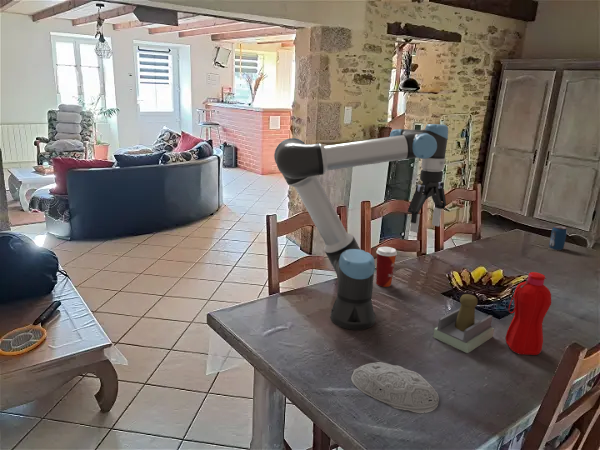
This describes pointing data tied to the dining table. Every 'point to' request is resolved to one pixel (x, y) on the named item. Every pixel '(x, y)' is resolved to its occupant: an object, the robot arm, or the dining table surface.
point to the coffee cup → (385, 265)
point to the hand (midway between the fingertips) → (425, 228)
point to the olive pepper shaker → (466, 312)
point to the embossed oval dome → (395, 387)
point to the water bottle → (529, 315)
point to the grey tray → (463, 332)
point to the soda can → (558, 237)
